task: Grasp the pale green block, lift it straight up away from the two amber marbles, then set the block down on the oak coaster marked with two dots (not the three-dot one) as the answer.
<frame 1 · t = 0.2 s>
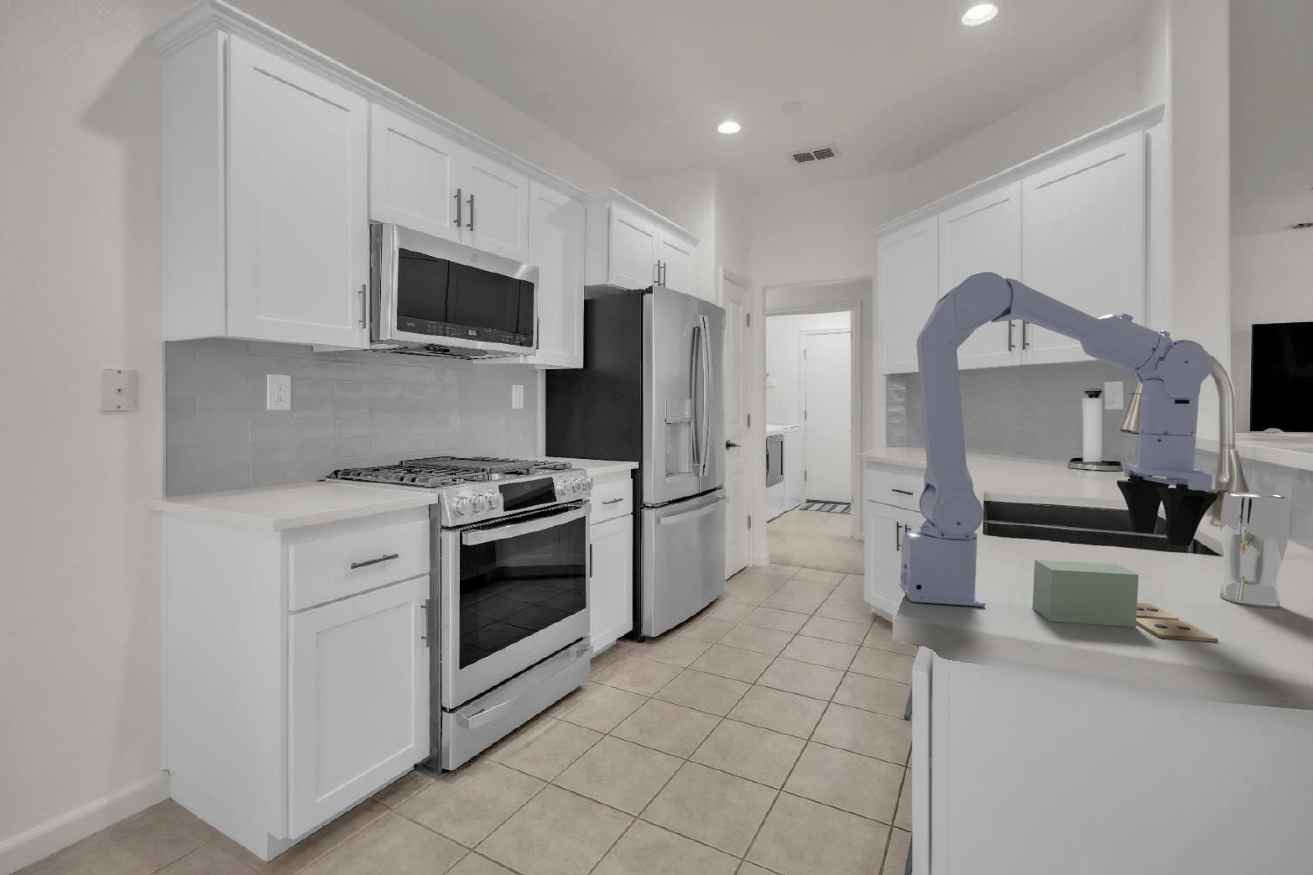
hand: (1160, 538, 81), 10 cm above the countertop, tool pointing down, fingers open, 7 cm apart
marble b: (1099, 618, 79), on the countertop
marble a: (1064, 615, 80), on the countertop
pad two: (1172, 630, 75), on the countertop
pale green block: (1081, 617, 79), on the countertop
pad three: (1138, 611, 82), on the countertop
beer glass: (1249, 602, 87), on the countertop
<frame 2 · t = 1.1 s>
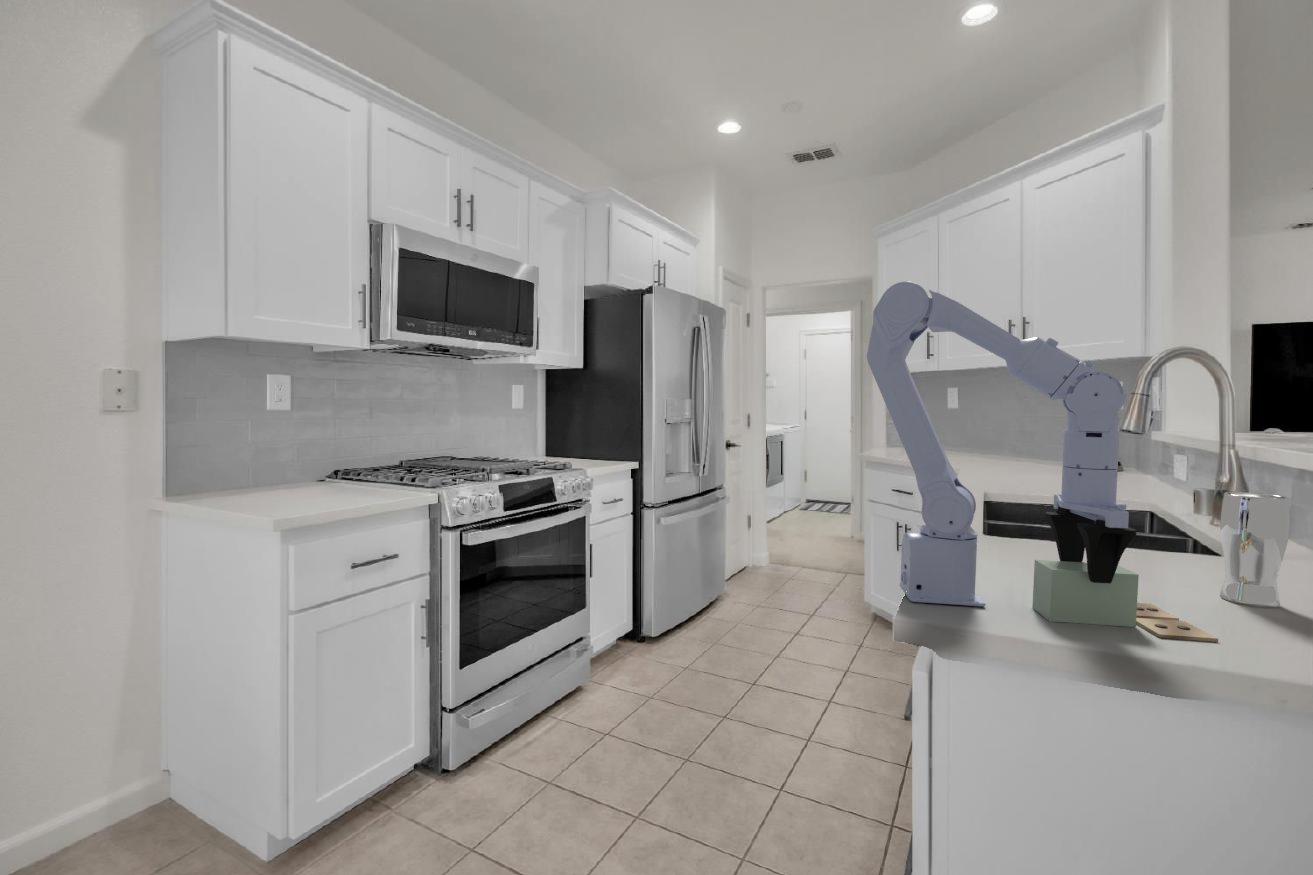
hand: (1084, 574, 79), 6 cm above the countertop, tool pointing down, fingers open, 7 cm apart
nothing on the countertop moved.
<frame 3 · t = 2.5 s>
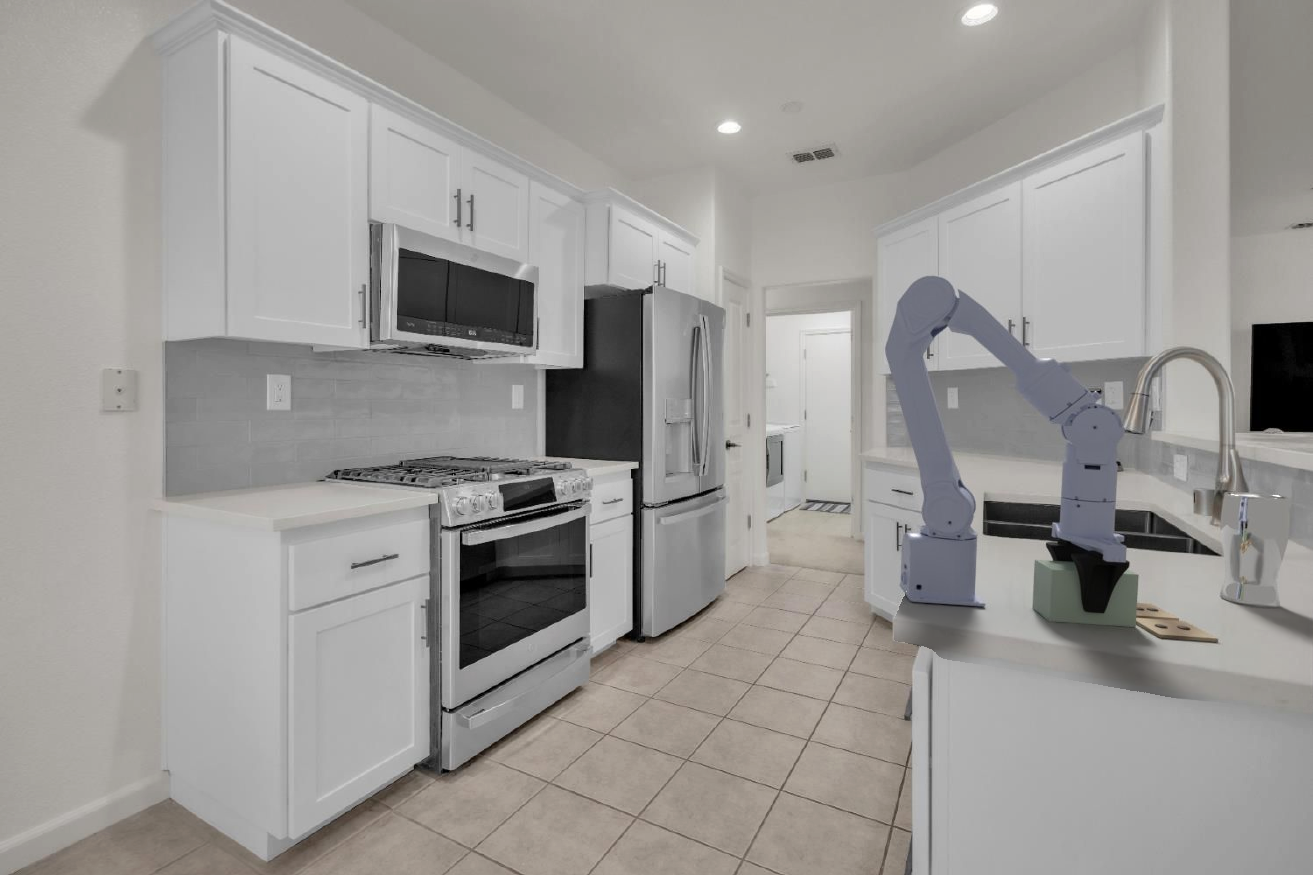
hand: (1082, 604, 79), 2 cm above the countertop, tool pointing down, fingers closed on pale green block, 5 cm apart
pale green block: (1081, 617, 79), on the countertop, touching gripper
everything else where it was.
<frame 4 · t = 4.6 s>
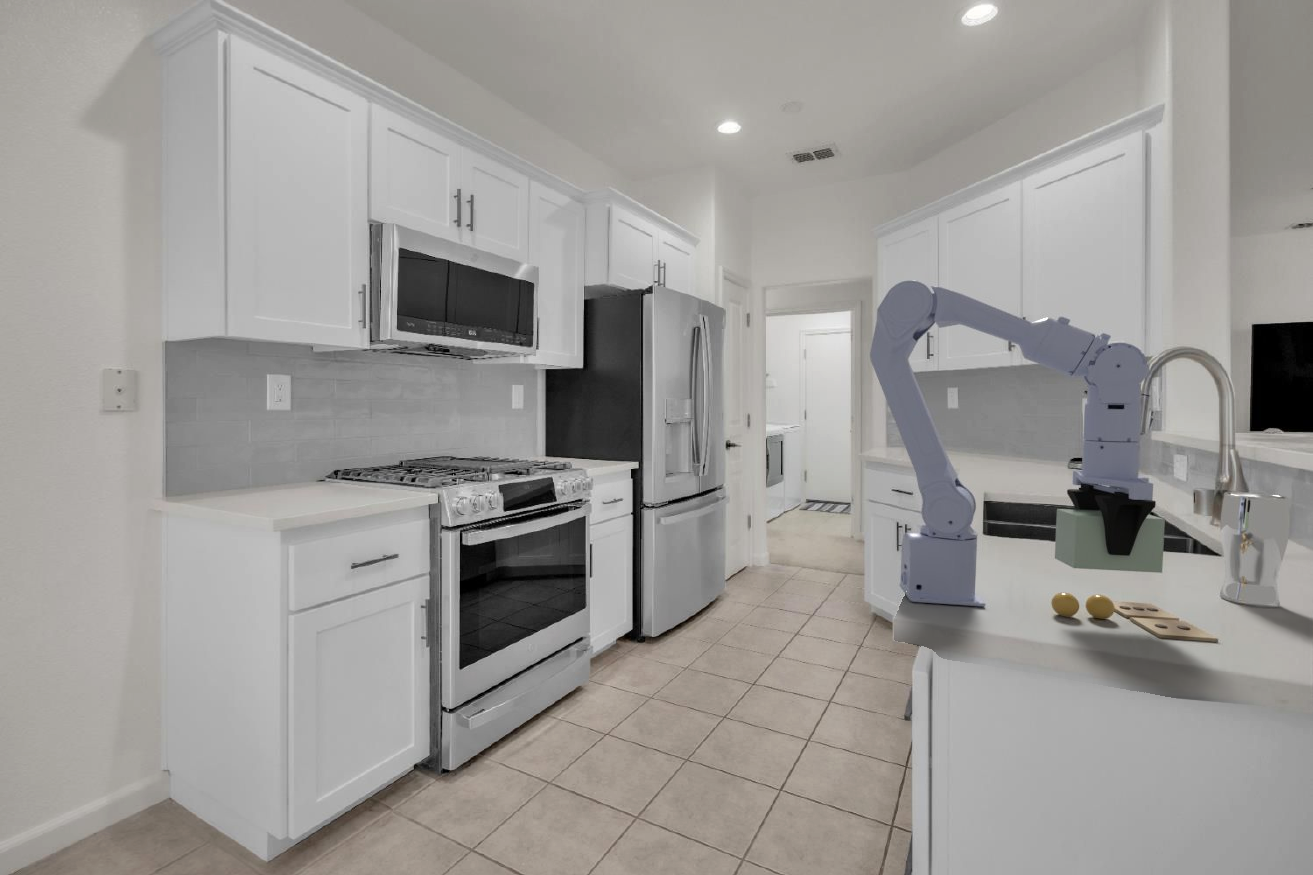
hand: (1106, 549, 78), 9 cm above the countertop, tool pointing down, fingers closed on pale green block, 5 cm apart
pale green block: (1106, 565, 78), point 7 cm above the countertop, touching gripper
everything else where it was.
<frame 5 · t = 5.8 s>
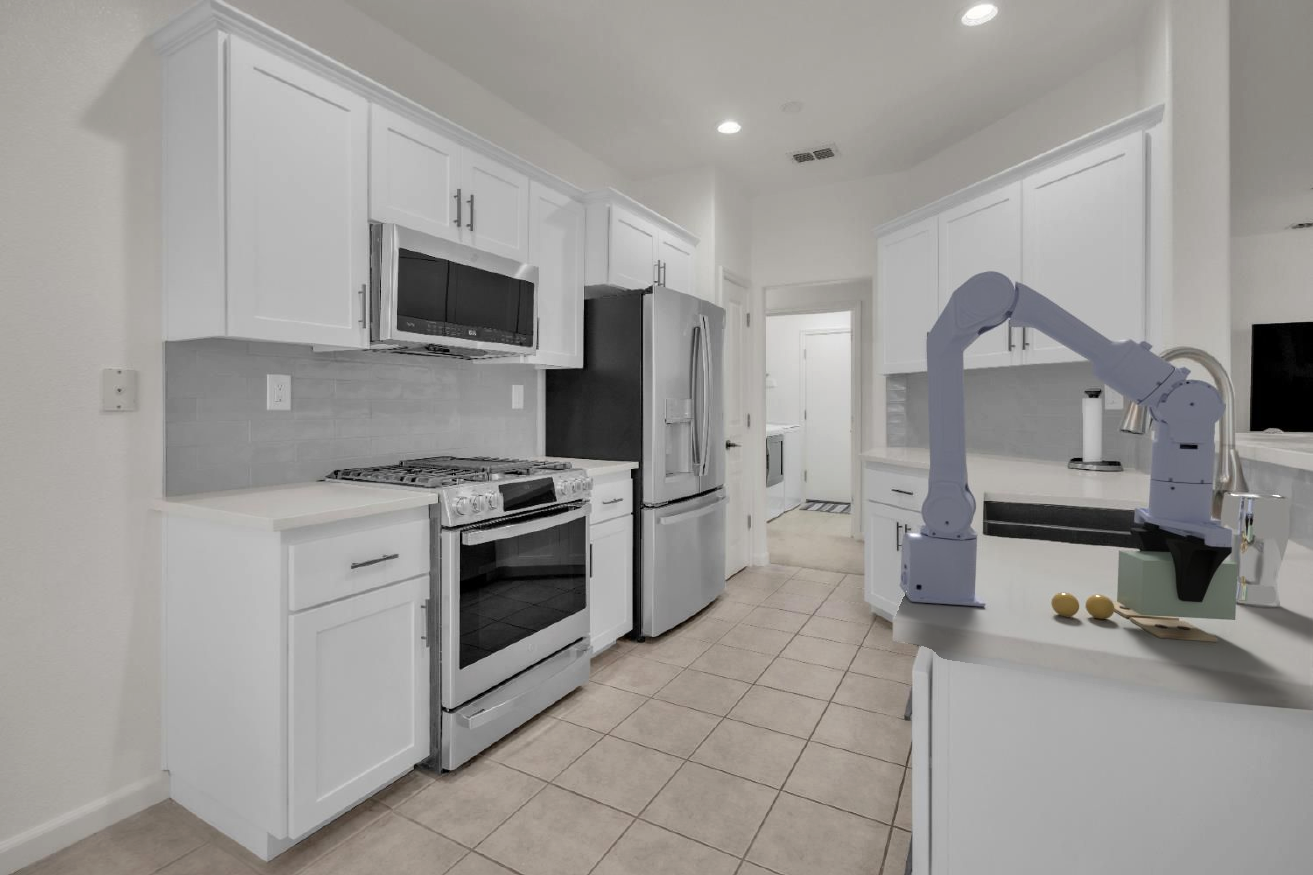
hand: (1174, 593, 75), 5 cm above the countertop, tool pointing down, fingers closed on pale green block, 5 cm apart
pale green block: (1173, 610, 75), point 2 cm above the countertop, touching gripper
everything else where it was.
when the fingers open (3 cm above the countertop, at t = 7.0 s): pale green block stays where it is, resting on pad two.
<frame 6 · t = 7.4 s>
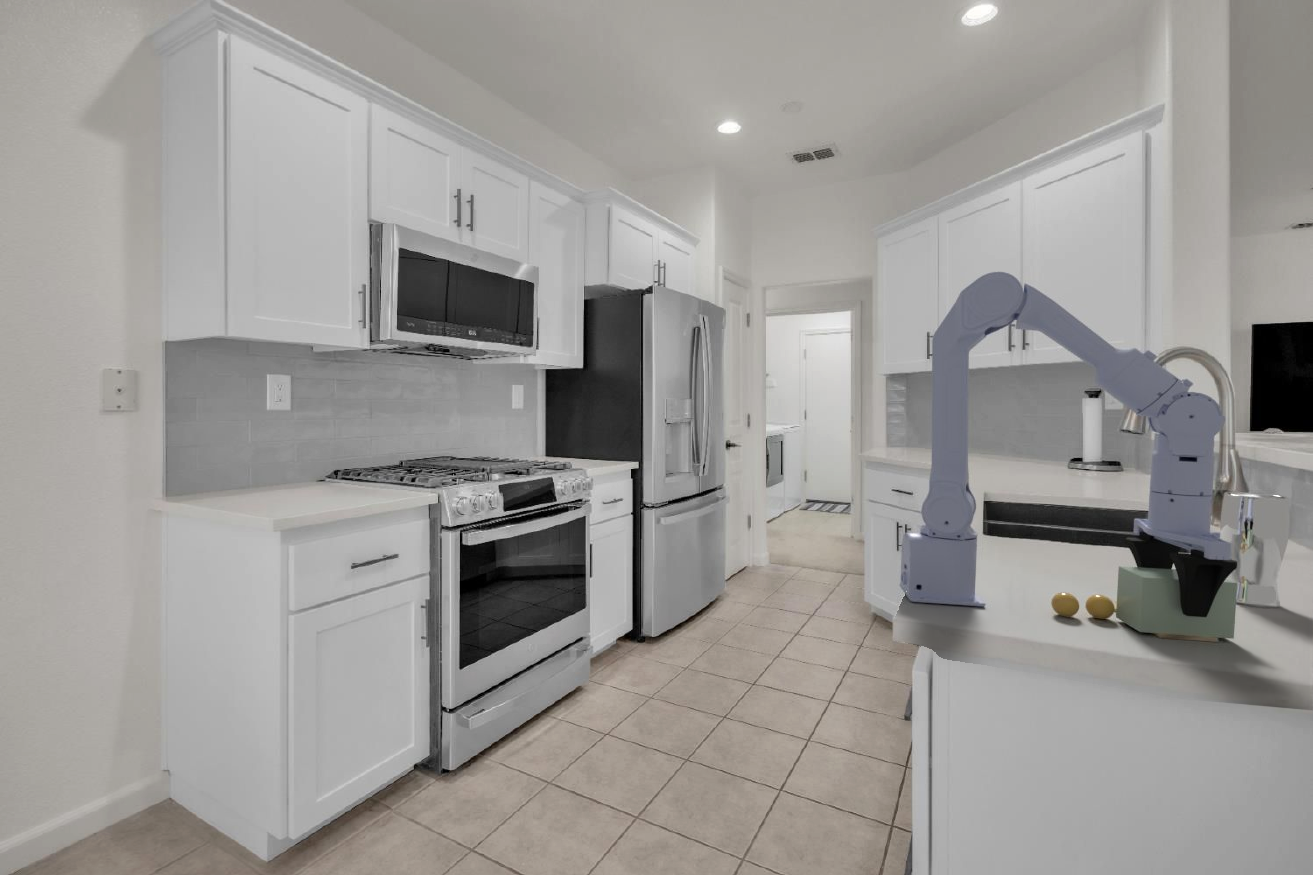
hand: (1173, 605, 75), 3 cm above the countertop, tool pointing down, fingers open, 7 cm apart
pale green block: (1172, 627, 75), resting on pad two
everything else where it was.
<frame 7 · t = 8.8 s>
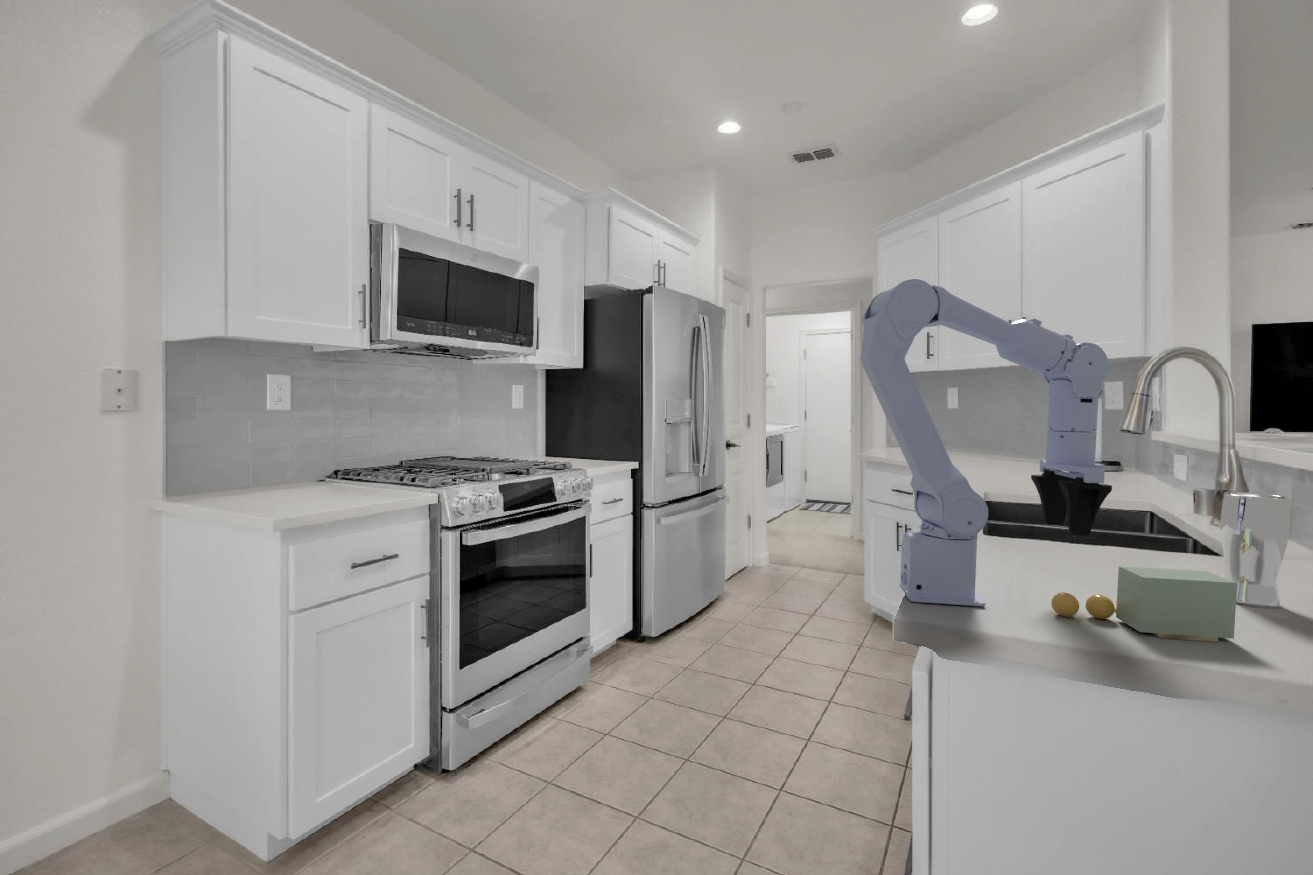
hand: (1066, 529, 86), 10 cm above the countertop, tool pointing down, fingers open, 7 cm apart
nothing on the countertop moved.
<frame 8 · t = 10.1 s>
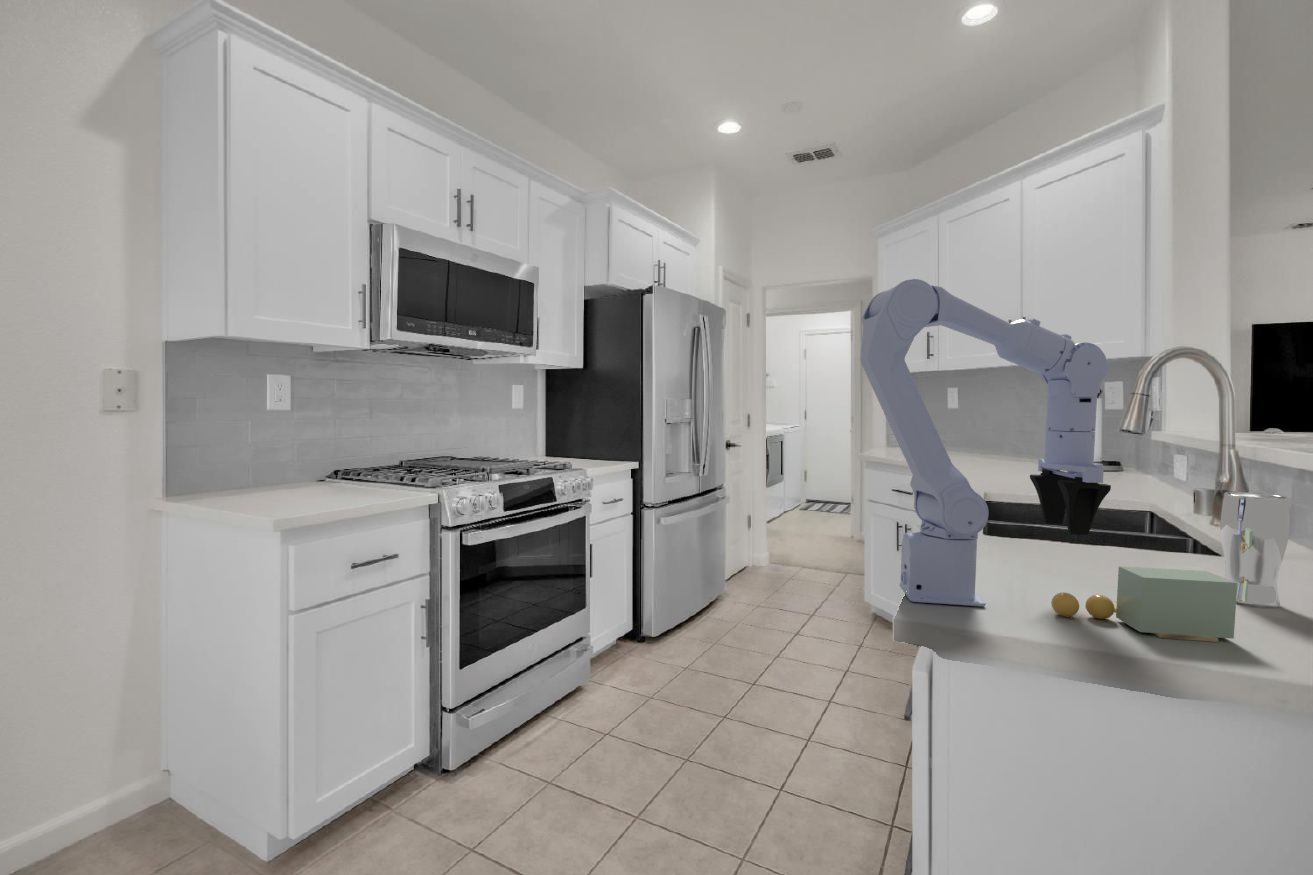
hand: (1065, 528, 87), 10 cm above the countertop, tool pointing down, fingers open, 7 cm apart
nothing on the countertop moved.
at the end: pale green block 0.0 cm off-centre on the pad two, point 0.4 cm above the pad two's base; pale green block tilted 0°; the gripper is holding nothing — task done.
